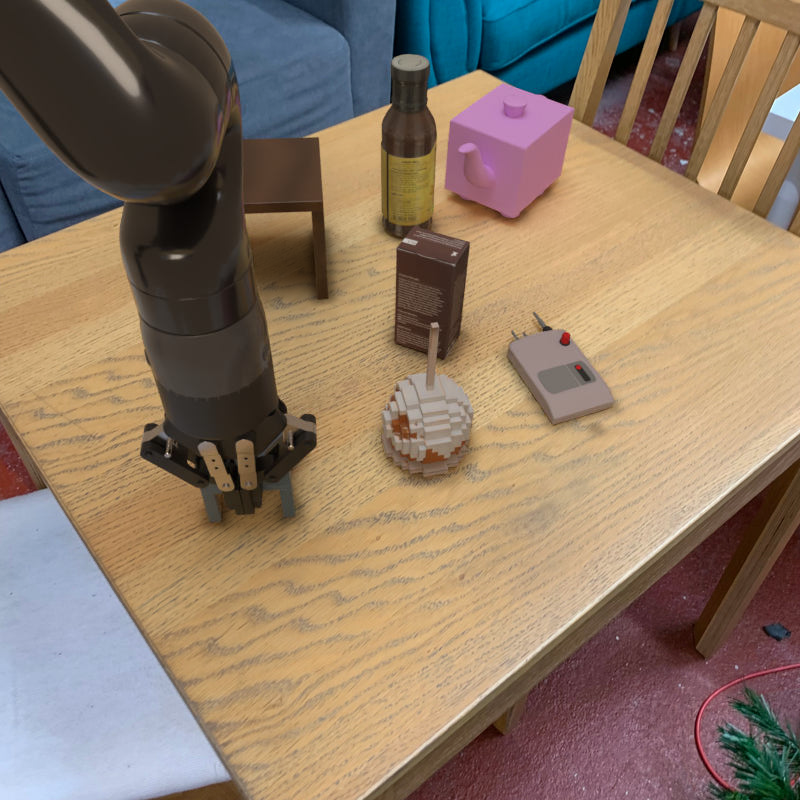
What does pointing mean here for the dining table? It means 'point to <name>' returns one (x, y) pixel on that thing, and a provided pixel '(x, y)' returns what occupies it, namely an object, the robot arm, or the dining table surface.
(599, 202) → the dining table surface
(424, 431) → the candy apple
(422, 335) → the box
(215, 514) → the chair
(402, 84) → the sauce bottle
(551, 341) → the remote control
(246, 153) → the desk
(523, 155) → the teapot
